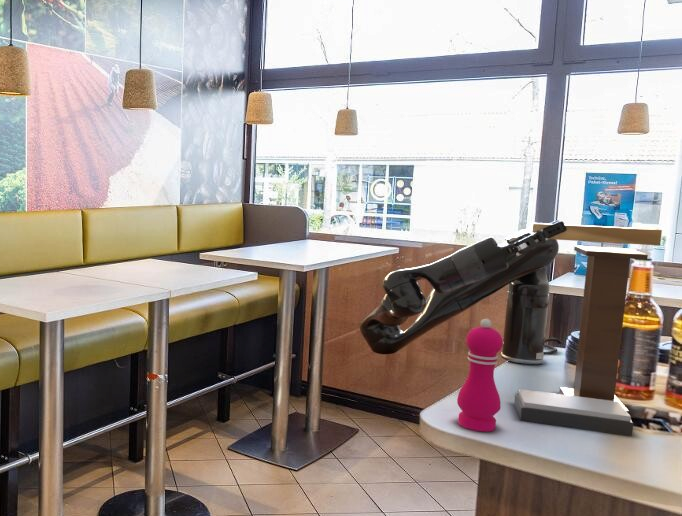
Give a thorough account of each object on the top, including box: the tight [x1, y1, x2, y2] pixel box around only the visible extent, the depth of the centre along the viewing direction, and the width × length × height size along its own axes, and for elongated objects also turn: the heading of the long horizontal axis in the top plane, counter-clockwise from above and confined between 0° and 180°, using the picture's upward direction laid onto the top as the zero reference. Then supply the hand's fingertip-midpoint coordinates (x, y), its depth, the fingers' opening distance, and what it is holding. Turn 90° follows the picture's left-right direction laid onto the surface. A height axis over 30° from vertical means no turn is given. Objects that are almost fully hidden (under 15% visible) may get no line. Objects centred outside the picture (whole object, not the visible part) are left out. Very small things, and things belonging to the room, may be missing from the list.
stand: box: [558, 245, 649, 415], centre depth 140 cm, size 12×10×32 cm
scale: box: [513, 388, 634, 437], centre depth 133 cm, size 10×18×4 cm, turn 69°
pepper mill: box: [456, 318, 503, 433], centre depth 127 cm, size 7×7×20 cm
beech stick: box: [530, 222, 663, 247], centre depth 139 cm, size 3×22×3 cm, turn 69°
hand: (562, 224), depth 141 cm, fingers closed on beech stick, 3 cm apart
